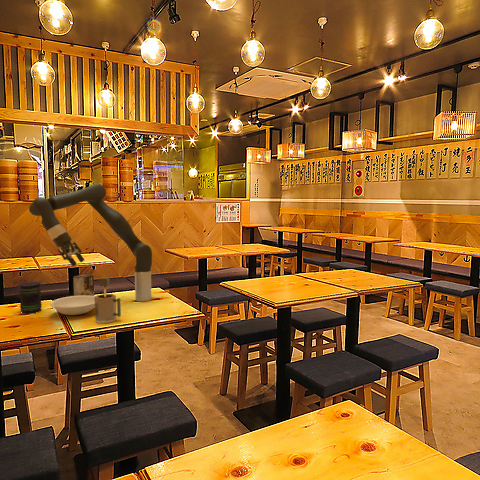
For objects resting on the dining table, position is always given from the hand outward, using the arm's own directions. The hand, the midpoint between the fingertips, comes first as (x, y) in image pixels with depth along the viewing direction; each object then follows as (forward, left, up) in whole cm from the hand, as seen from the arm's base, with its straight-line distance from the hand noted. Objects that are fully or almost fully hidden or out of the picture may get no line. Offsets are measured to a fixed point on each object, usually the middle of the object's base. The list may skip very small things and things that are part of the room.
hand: (78, 263), depth 189 cm
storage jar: (-11, -32, -28) cm, 43 cm away
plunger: (+2, +13, -25) cm, 28 cm away
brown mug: (+2, +15, -28) cm, 31 cm away
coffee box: (-28, -11, -28) cm, 41 cm away
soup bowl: (-9, -7, -28) cm, 30 cm away
